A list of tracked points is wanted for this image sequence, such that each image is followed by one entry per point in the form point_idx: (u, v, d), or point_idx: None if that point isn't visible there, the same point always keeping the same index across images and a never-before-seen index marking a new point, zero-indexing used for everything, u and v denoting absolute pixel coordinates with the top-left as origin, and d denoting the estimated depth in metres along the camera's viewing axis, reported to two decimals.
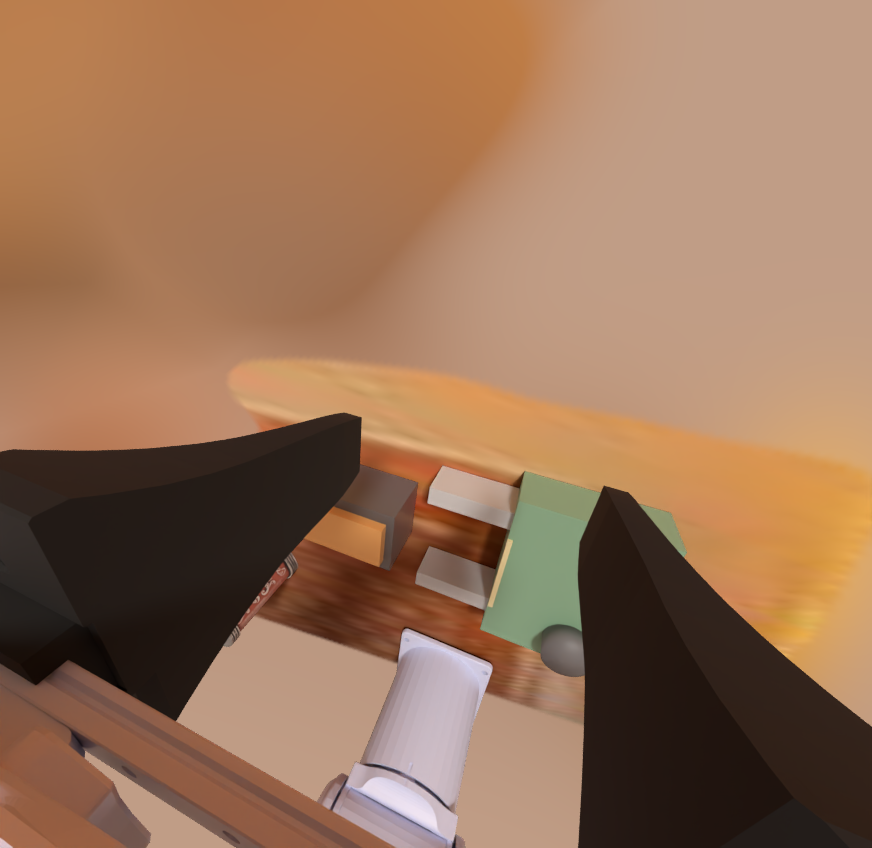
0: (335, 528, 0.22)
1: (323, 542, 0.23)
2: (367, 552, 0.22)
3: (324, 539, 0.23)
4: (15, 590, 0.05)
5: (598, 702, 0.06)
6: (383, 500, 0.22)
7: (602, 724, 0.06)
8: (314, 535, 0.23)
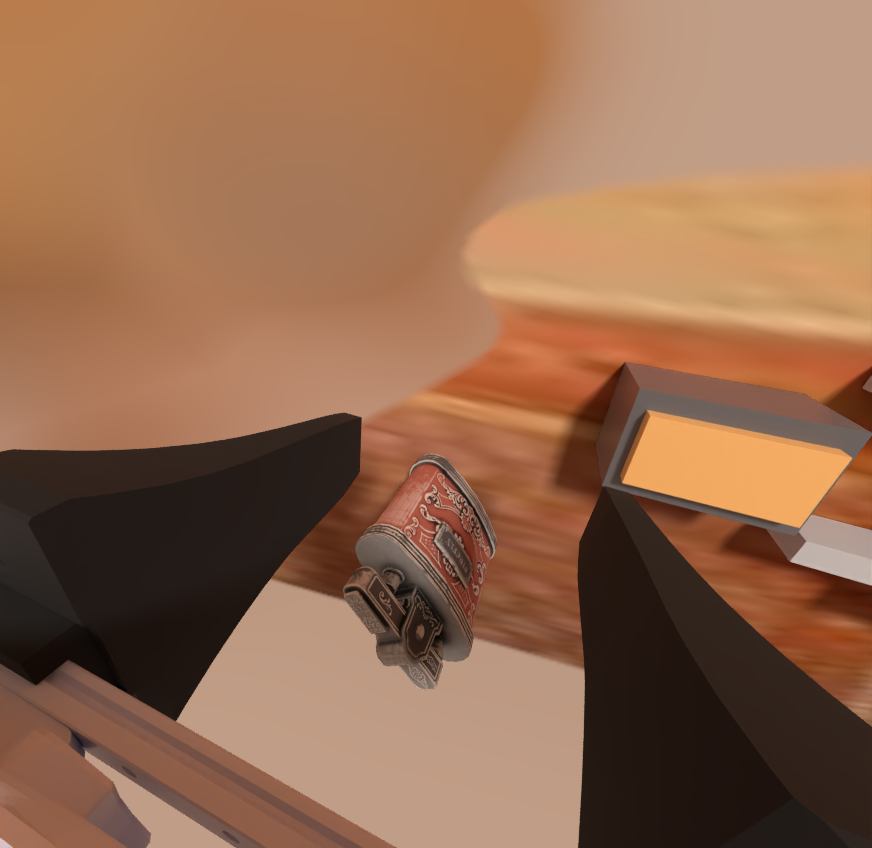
0: (725, 462, 0.13)
1: (681, 490, 0.14)
2: (784, 502, 0.13)
3: (686, 484, 0.13)
4: (15, 590, 0.05)
5: (598, 702, 0.06)
6: (807, 412, 0.13)
7: (602, 724, 0.06)
8: (665, 479, 0.14)
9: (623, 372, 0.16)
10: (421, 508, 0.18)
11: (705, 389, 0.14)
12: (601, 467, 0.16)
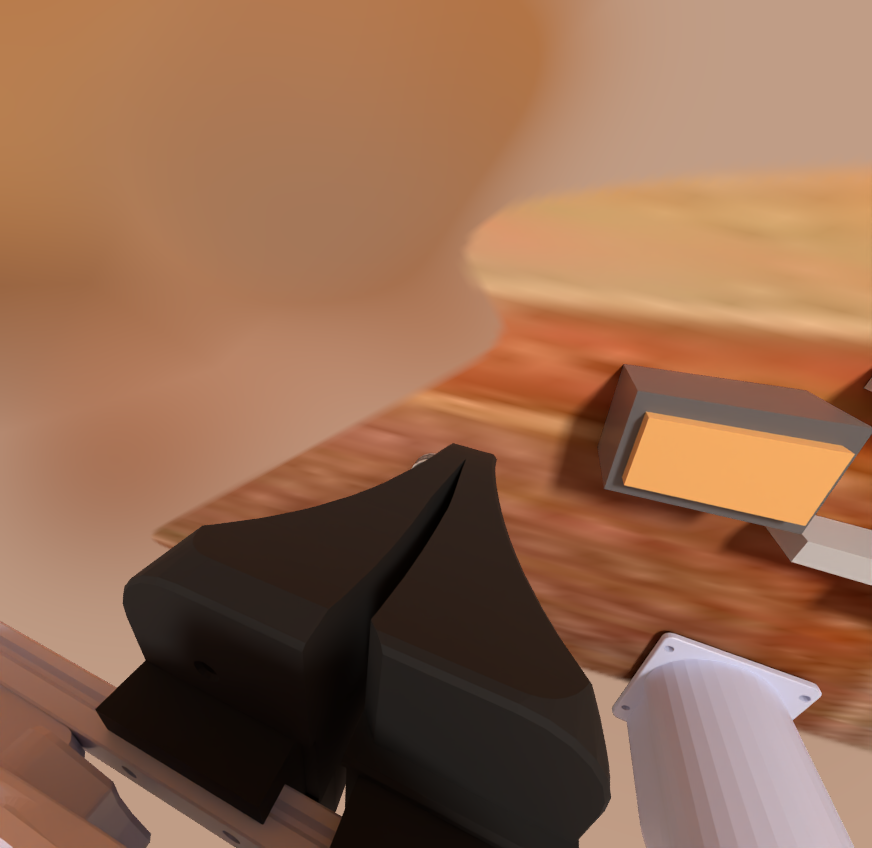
0: (726, 462, 0.13)
1: (683, 491, 0.14)
2: (788, 500, 0.13)
3: (688, 485, 0.13)
4: (215, 698, 0.04)
5: None
6: (807, 408, 0.13)
7: None
8: (667, 480, 0.14)
9: (622, 374, 0.16)
10: None
11: (704, 389, 0.14)
12: (603, 469, 0.16)
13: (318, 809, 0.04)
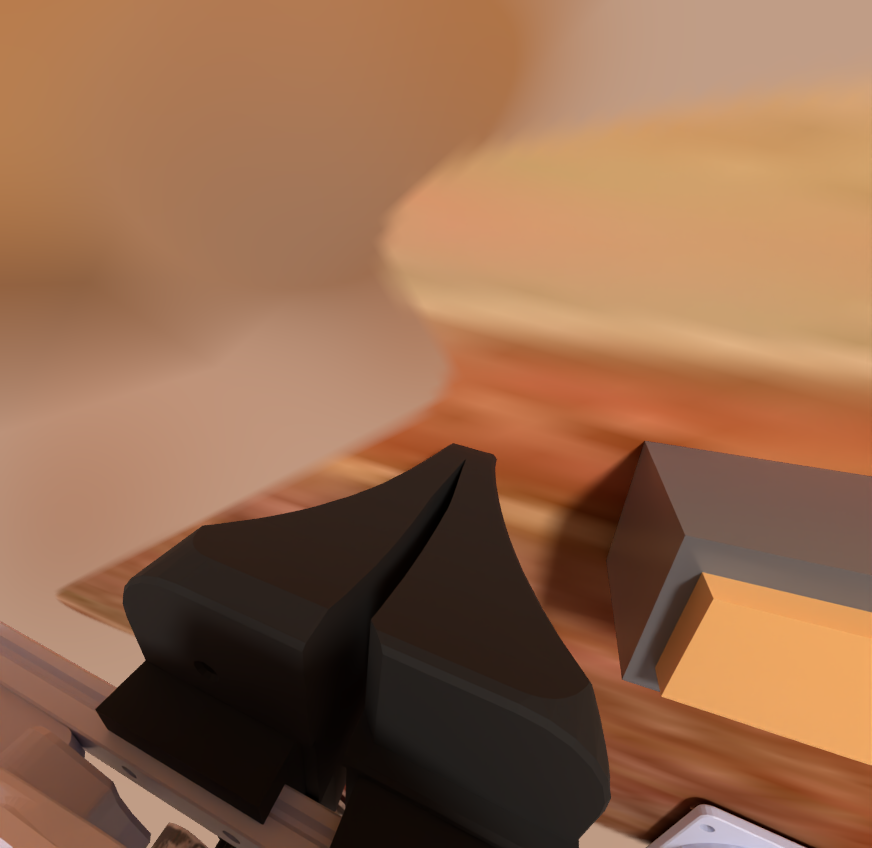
0: None
1: (784, 726, 0.07)
2: None
3: (796, 718, 0.07)
4: (216, 698, 0.04)
5: None
6: None
7: None
8: (750, 703, 0.07)
9: (643, 460, 0.10)
10: None
11: (811, 513, 0.07)
12: (619, 629, 0.09)
13: (318, 809, 0.04)
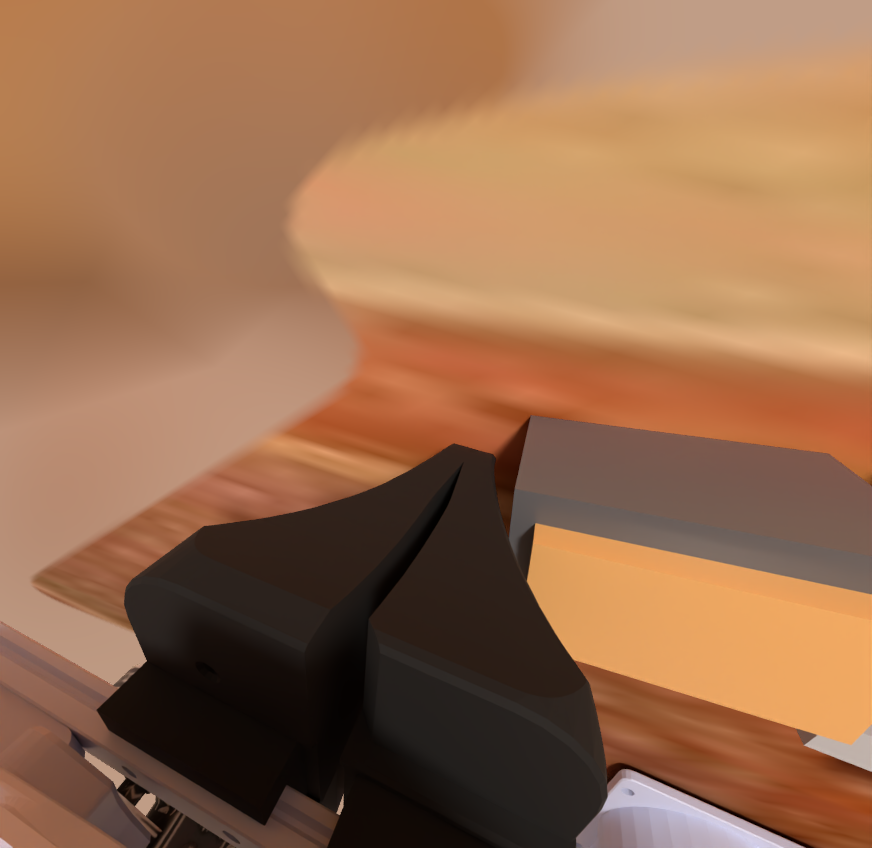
0: (684, 626, 0.07)
1: (616, 662, 0.07)
2: (813, 701, 0.06)
3: (623, 655, 0.07)
4: (217, 698, 0.04)
5: None
6: (837, 514, 0.07)
7: None
8: (585, 643, 0.07)
9: None
10: None
11: (644, 470, 0.08)
12: None
13: (320, 810, 0.04)
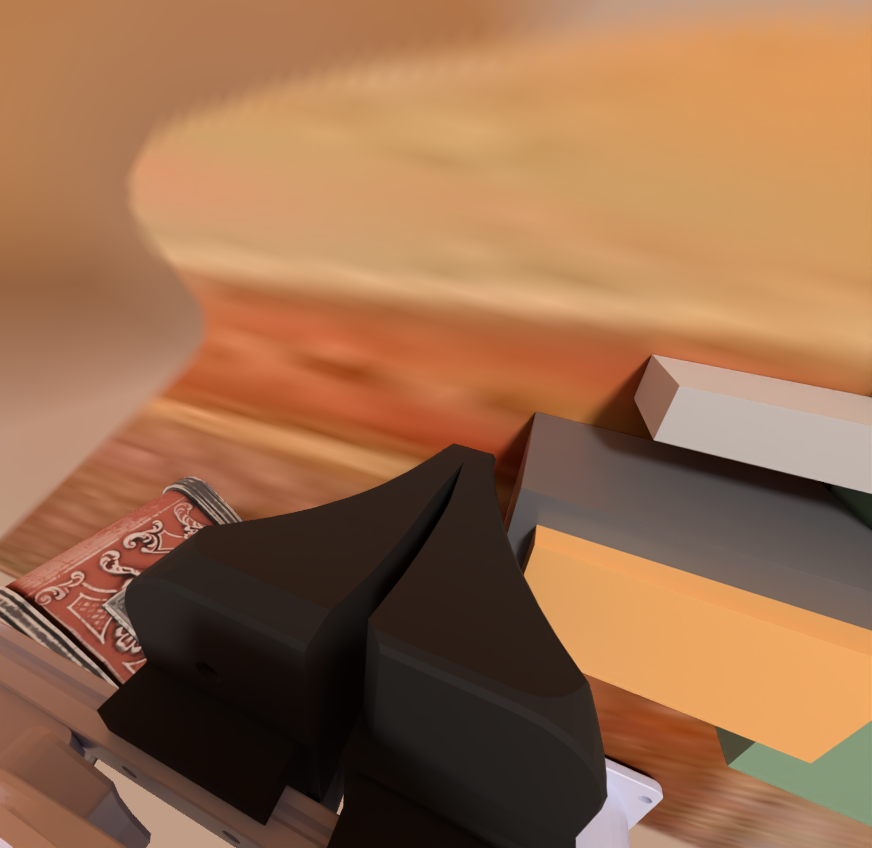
0: (674, 641, 0.07)
1: (597, 668, 0.07)
2: (783, 720, 0.07)
3: (606, 661, 0.07)
4: (217, 699, 0.04)
5: None
6: (831, 545, 0.07)
7: None
8: (570, 647, 0.07)
9: (531, 431, 0.10)
10: (105, 557, 0.13)
11: (649, 482, 0.08)
12: None
13: (320, 810, 0.04)
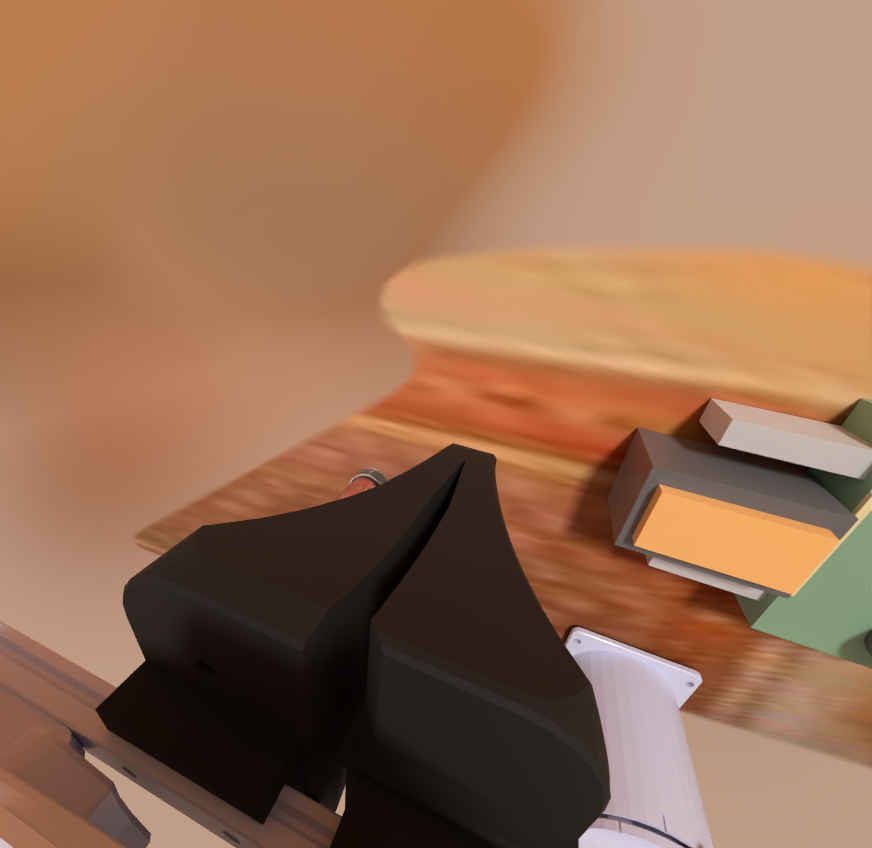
0: (728, 536, 0.14)
1: (687, 556, 0.15)
2: (779, 572, 0.14)
3: (692, 551, 0.15)
4: (215, 697, 0.04)
5: None
6: (801, 491, 0.14)
7: None
8: (673, 545, 0.15)
9: (635, 437, 0.18)
10: None
11: (711, 464, 0.15)
12: (614, 524, 0.18)
13: (318, 809, 0.04)
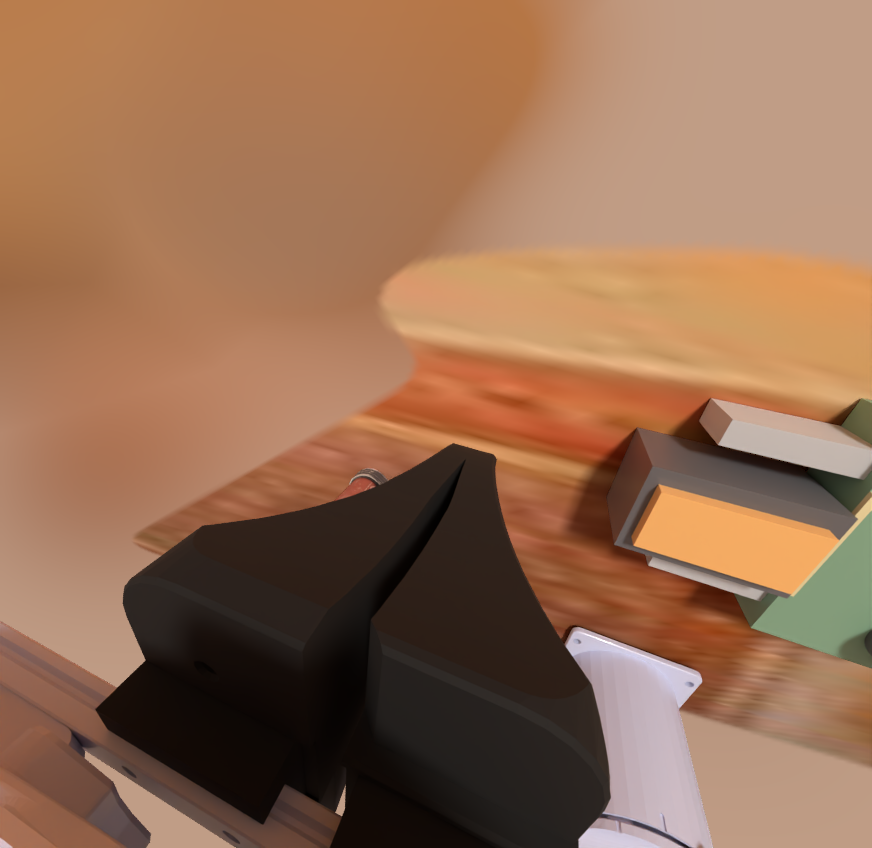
0: (727, 536, 0.14)
1: (686, 556, 0.15)
2: (778, 572, 0.14)
3: (691, 551, 0.15)
4: (215, 698, 0.04)
5: None
6: (800, 491, 0.14)
7: None
8: (673, 545, 0.15)
9: (635, 437, 0.18)
10: None
11: (710, 464, 0.15)
12: (613, 524, 0.18)
13: (318, 809, 0.04)
